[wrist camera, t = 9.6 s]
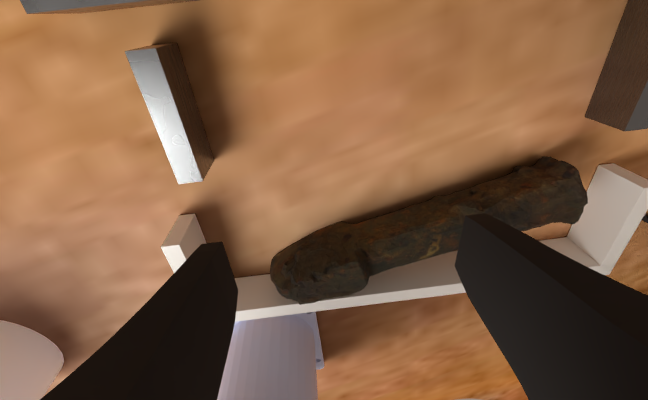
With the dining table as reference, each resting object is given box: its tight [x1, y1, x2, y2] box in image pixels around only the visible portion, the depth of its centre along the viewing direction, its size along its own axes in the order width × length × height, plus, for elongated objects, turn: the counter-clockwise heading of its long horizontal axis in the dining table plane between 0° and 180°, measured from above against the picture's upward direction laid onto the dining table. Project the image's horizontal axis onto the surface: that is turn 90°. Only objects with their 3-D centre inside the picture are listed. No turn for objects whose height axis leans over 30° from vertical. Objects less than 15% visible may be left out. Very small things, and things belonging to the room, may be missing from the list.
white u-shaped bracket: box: [161, 163, 648, 322], centre depth 20 cm, size 7×28×3 cm, turn 95°
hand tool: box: [270, 156, 588, 305], centre depth 18 cm, size 19×4×5 cm, turn 106°
